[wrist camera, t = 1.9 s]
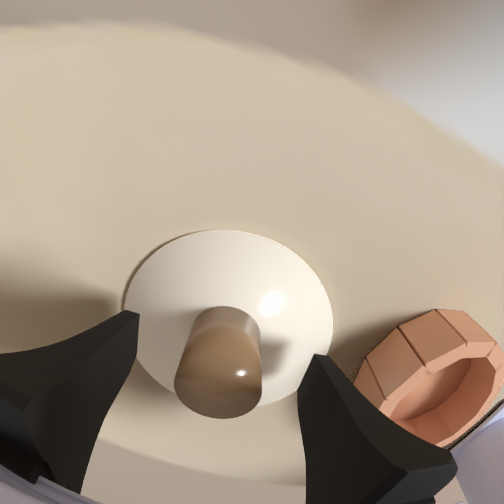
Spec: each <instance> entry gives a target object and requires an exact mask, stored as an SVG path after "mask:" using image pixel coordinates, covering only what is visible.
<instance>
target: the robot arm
mask: <svg viewBox="0 0 504 504" xmlns="http://www.w3.org/2000/svg"><path fill="white" fill-rule="evenodd" d="M139 319H140V314H139V313H136V312H132V311H129V310H124V311H122V312H120V313H118V314H117V315H115V316H113V317H111V318H110V319H108V320H106V321H104V322H102V323H100V324H99V325H97V326H95V327H93V328H91V329H89V330H87V331H85V332H83V333H80V334H78V335H76V336H74V337H72V338H69V339H67V340H64V341H61V342H58V343H55V344H52V345H49V346H45V347H41V348H36V349H32V350H28V351H21V352H14V353H4V354H0V504H102V503H99V502H97V501H94V500H91V499H89V498H87V497H84V496H82V495H80V493H81V488H82V484H83V480H84V477H85V473H86V470H87V466H88V463H89V460H90V456H91V453H92V450H93V447H94V444H95V441H96V439H97V436H98V434H99V431H100V428H101V426H102V423H103V421H104V419H105V417H106V414H107V412H108V411H109V409H110V407H111V405H112V403H113V402H114V400H115V398H116V396H117V394H118V393H119V391H120V389H121V387H122V386H123V384H124V382H125V380H126V378H127V377H128V375H129V373H130V370H131V368H132V365H133V363H134V360H135V358H136V355H137V346H138V331H139ZM297 401H298V415H299V422H300V428H301V434H302V440H303V446H304V452H305V461H306V504H435V503H436V502H435V499H434V495H436V494H437V493H438V492H439V491H440V490H441V489H442V488H444V487H445V486H446V485H447V484H448V483H449V482H450V481H451V480H452V479H453V478H454V477H455V476H456V478H457V480H458V482H459V484H460V487H461V489H462V491H463V493H464V495H465V498H466V500H467V502H468V504H504V403H503V404H502V405H501V406H500V407H499V408H498V409H497V410H496V411H495V412H494V413H493V414H492V415H490V416H489V417H488V418H487V419H486V420H485V421H484V422H483V423H482V424H481V425H480V426H479V427H477V428H476V429H475V430H474V431H473V432H472V433H470V434H469V435H468V436H467V437H466V438H465V439H463V440H462V441H461V442H460V443H458V444H457V445H456V446H455V447H453V448H452V449H451V450H450V451H449V450H446V449H444V448H441V447H439V446H436V445H434V444H431V443H429V442H427V441H425V440H423V439H421V438H419V437H417V436H415V435H414V434H412V433H410V432H409V431H407V430H405V429H404V428H402V427H401V426H399V425H398V424H396V423H395V422H394V421H392V420H391V419H390V418H388V417H387V416H386V415H385V414H383V413H382V412H381V411H380V410H378V409H377V408H376V407H375V406H374V405H373V404H372V403H371V402H370V401H369V400H368V399H367V398H366V397H365V396H364V395H363V394H362V393H361V392H360V391H359V390H358V389H357V388H356V387H355V386H354V385H353V384H352V382H351V381H350V380H349V379H348V378H347V377H346V376H345V374H344V373H343V372H342V371H341V370H340V369H339V367H338V366H337V365H336V364H335V363H334V362H333V361H332V359H331V358H330V357H329V356H327V355H320V354H313V357H312V359H311V361H310V363H309V366H308V368H307V370H306V372H305V374H304V377H303V379H302V381H301V383H300V385H299V387H298V389H297ZM456 504H464V503H463V502H459V503H456Z"/></svg>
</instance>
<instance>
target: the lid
mask: <svg viewBox="0 0 504 504" xmlns="http://www.w3.org/2000/svg"><path fill="white" fill-rule="evenodd" d="M124 310H129V311H132V312H136V313H139V314H140V319H139V331H138V346H137V355H136V358H137V359H138V361H139V362H140V363H141V365H142V366H143V368H144V369H145V370H146V371H147V372H148V373H149V374H150V375H151V376H152V377H153V378H154V379H155V380H156V381H157V382H158V383H160V384H161V385H162V386H164V387H165V388H166V389H168V390H169V391H171V392H173V393H174V394H176V395H177V396H178V398H179V399H180V401H181V402H182V403H183V404H184V405H185V406H187V407H188V408H189V409H191V410H192V411H194V412H196V413H198V414H201V415H203V416H207V417H211V418H218V419H227V418H235V417H239V416H241V415H244V414H246V413H248V412H250V411H251V410H252V409H254V408H255V407H258V406H263V405H266V404H269V403H273V402H275V401H278V400H280V399H282V398H284V397H286V396H288V395H290V394H292V393H293V392H295V391H296V390H297V389H298V387H299V385H300V383H301V381H302V379H303V377H304V374H305V372H306V370H307V368H308V366H309V363H310V361H311V359H312V357H313V354H320V355H327V352H328V350H329V347H330V343H331V339H332V332H333V317H332V310H331V306H330V302H329V299H328V297H327V294H326V291H325V289H324V287H323V285H322V284H321V282H320V280H319V279H318V277H317V275H316V274H315V273H314V272H313V270H312V269H311V268H310V267H309V265H307V264H306V263H305V262H304V261H303V260H302V259H301V258H300V257H299V256H298V255H296V254H295V253H294V252H292V251H291V250H289V249H288V248H287V247H285V246H283V245H281V244H279V243H277V242H275V241H273V240H271V239H268V238H266V237H263V236H260V235H257V234H253V233H249V232H244V231H237V230H226V229H224V230H207V231H202V232H196V233H192V234H189V235H186V236H183V237H180V238H178V239H176V240H174V241H172V242H169V243H167V244H166V245H164V246H163V247H162V248H160V249H159V250H157V251H156V252H155V253H154V254H152V255H151V256H150V257H149V258H148V259H147V260H146V261H145V262H144V263H143V265H142V266H141V267H140V268H139V270H138V271H137V272H136V274H135V276H134V278H133V279H132V281H131V283H130V286H129V288H128V291H127V294H126V299H125V304H124Z"/></svg>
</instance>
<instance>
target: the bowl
mask: <svg viewBox="0 0 504 504" xmlns="http://www.w3.org/2000/svg"><path fill="white" fill-rule="evenodd" d="M366 357H367V359H364V361H363V363H362V366H361V368H360V370H359V373H358V375H357V377H356V379H355V382H354V384H353V385H354V386H355V387H356V388H357V389H358V390H359V391H360V392H361V393H362V394H363V395H364V396H365V397H366V398H367V399H368V400H369V401H370V402H371V403H372V404H373V405H374V406H375V407H376V408H377V409H378V410H380V411H381V412H382V413H383V414H385V415H386V416H387V417H388V418H390V419H391V420H392V421H394V422H395V423H396V424H398V425H399V426H401V427H402V428H404V429H405V430H407V431H409V432H410V433H412V434H414V435H415V436H417V437H419V438H421V439H423V440H425V441H427V442H429V443H431V444H434V445H436V446H439V447H443V446H445V445H447V444H449V443H451V442H453V440H454V439H455V440H456V439H457V438H458V437H459V436H461V435H462V434H463V433H464V432H465V431H467V430H468V429H469V428H470V427H471V426H472V425H473V424H475V423H476V422H477V421H478V420H479V419H480V418H481V416H483V415H484V414H485V412H486V411H487V409H488V408H489V406H490V405H491V403H492V402H493V400H494V399H495V397H496V396H497V394H498V393H499V391H500V390H501V387H502V385H503V380H504V353H503V351H502V350H501V348H500V346H499V345H498V343H497V342H496V341H495V340H494V339H493V338H492V337H491V336H490V335H489V334H488V333H487V332H486V331H485V330H484V329H483V328H482V327H481V326H479V325H478V324H477V323H476V322H475V321H474V320H473V319H472V318H471V317H470V316H469V315H468V314H467V313H465V312H461V311H450V310H440V309H436V311H435V310H432V311H430V312H428V313H426V314H424V315H422V316H420V317H417V318H415V319H413V320H411V321H408V322H406V323H404V324H401V325H399V329H398V328H397V327H396V328H395V329H394V330H393V331H392V332H391V333H390V334H389V335H388V336H387V337H386V338H385V339H384V340H383V341H382V342H381V343H380V344H379V345H378V346H377V347H376V348H375V349H374V350H372V351H371V352H370V353H369V354H368V355H367V356H366Z"/></svg>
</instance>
